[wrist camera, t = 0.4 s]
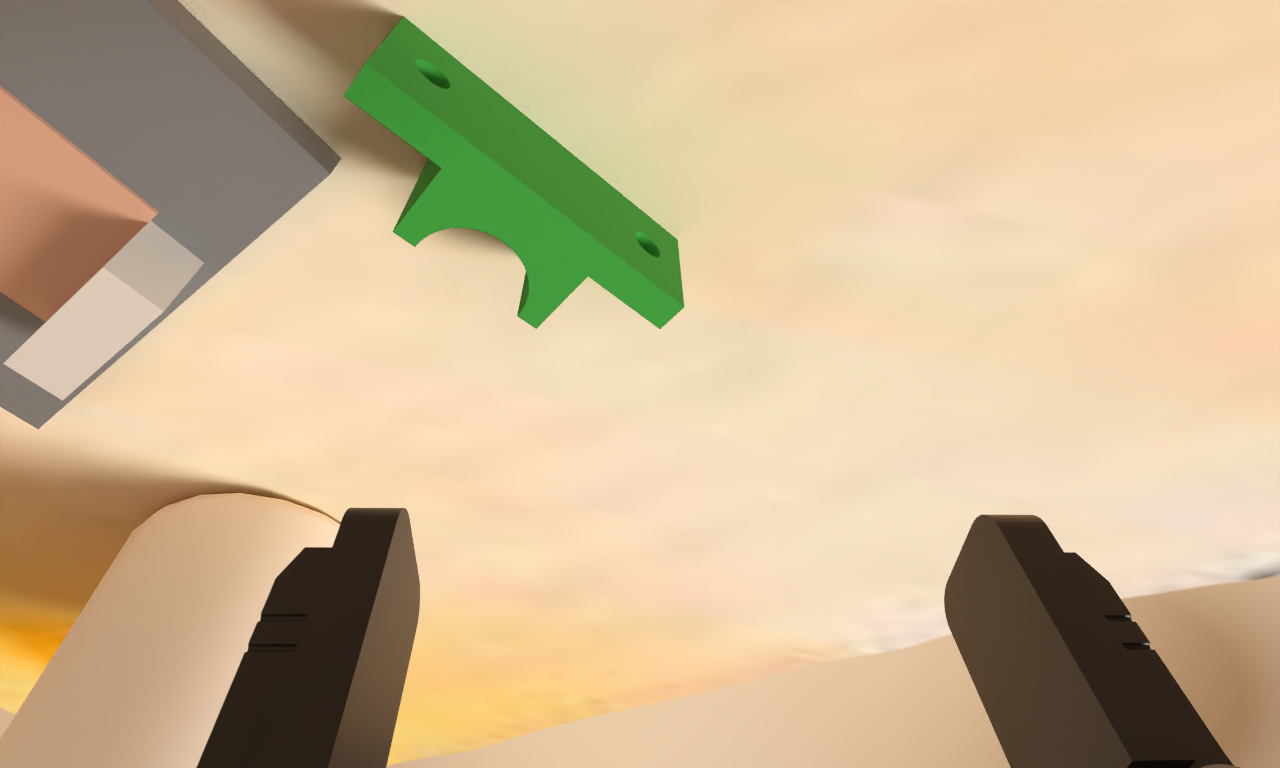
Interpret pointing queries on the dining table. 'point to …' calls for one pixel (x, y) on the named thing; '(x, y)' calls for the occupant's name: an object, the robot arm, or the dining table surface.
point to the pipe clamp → (513, 184)
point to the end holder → (124, 181)
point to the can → (162, 636)
